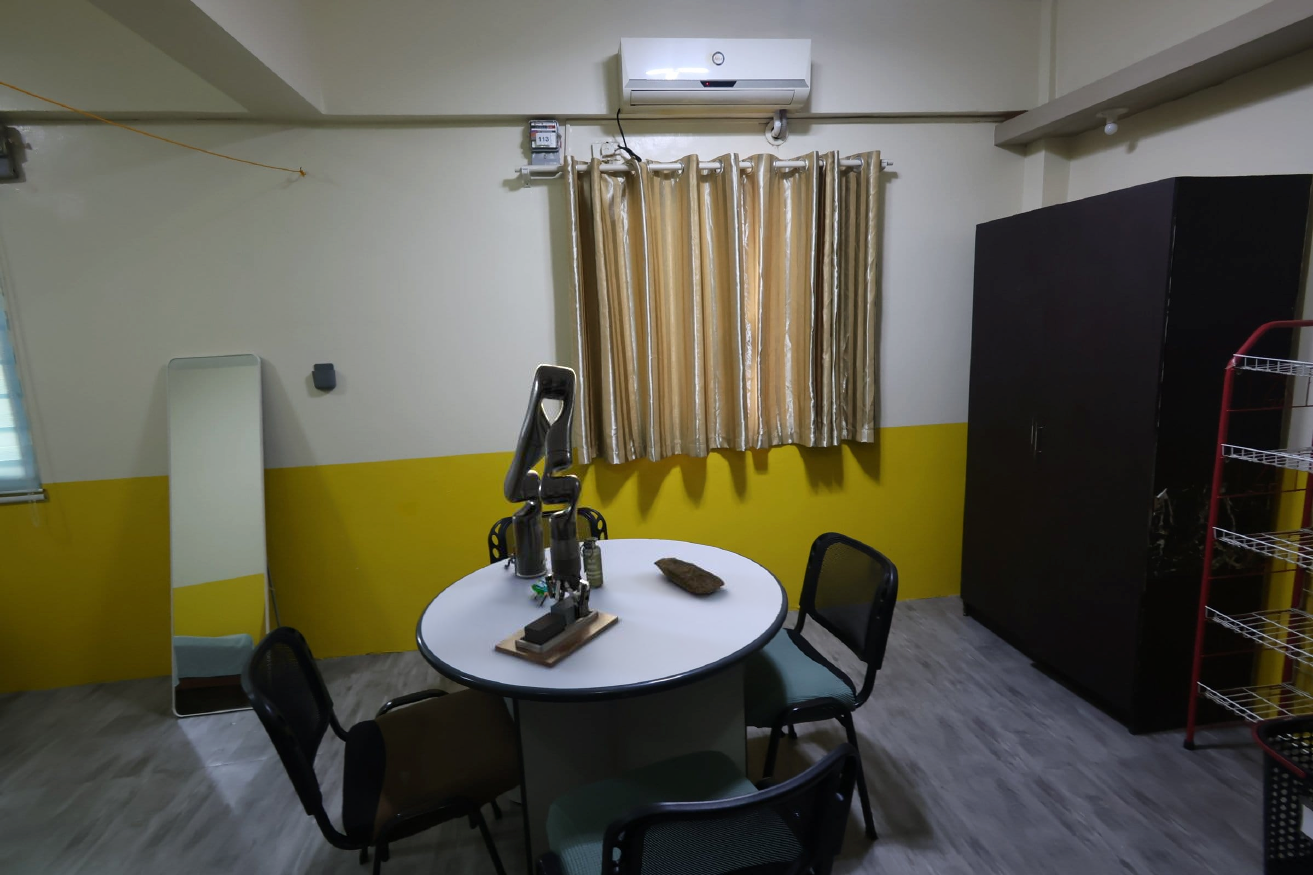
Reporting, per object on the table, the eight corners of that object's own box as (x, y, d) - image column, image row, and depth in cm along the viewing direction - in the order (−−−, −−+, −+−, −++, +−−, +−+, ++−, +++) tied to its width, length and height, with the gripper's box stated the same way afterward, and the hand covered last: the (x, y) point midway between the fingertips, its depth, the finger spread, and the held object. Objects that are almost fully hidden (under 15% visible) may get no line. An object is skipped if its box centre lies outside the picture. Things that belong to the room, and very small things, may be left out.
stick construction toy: (570, 591, 175) (552, 575, 172) (558, 613, 170) (540, 596, 167) (544, 593, 183) (527, 578, 179) (533, 614, 178) (514, 598, 175)
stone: (702, 600, 170) (701, 580, 169) (649, 573, 191) (648, 555, 191) (731, 590, 175) (731, 571, 174) (677, 564, 197) (676, 547, 196)
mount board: (495, 649, 148) (494, 639, 148) (565, 607, 170) (564, 598, 169) (551, 667, 139) (550, 656, 138) (618, 620, 160) (617, 611, 160)
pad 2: (551, 623, 155) (550, 606, 155) (574, 609, 163) (573, 592, 162) (566, 627, 153) (565, 610, 152) (589, 612, 160) (587, 596, 159)
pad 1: (525, 644, 148) (523, 626, 147) (550, 628, 155) (549, 611, 155) (540, 648, 145) (539, 631, 145) (565, 632, 153) (564, 615, 152)
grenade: (605, 582, 186) (601, 535, 183) (601, 590, 180) (598, 541, 178) (585, 583, 187) (581, 535, 184) (581, 590, 181) (577, 542, 179)
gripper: (596, 552, 154) (601, 615, 157) (553, 544, 162) (559, 605, 165) (577, 562, 148) (583, 628, 151) (534, 554, 156) (539, 616, 158)
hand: (570, 616), depth 158 cm, fingers closed on pad 2, 5 cm apart
